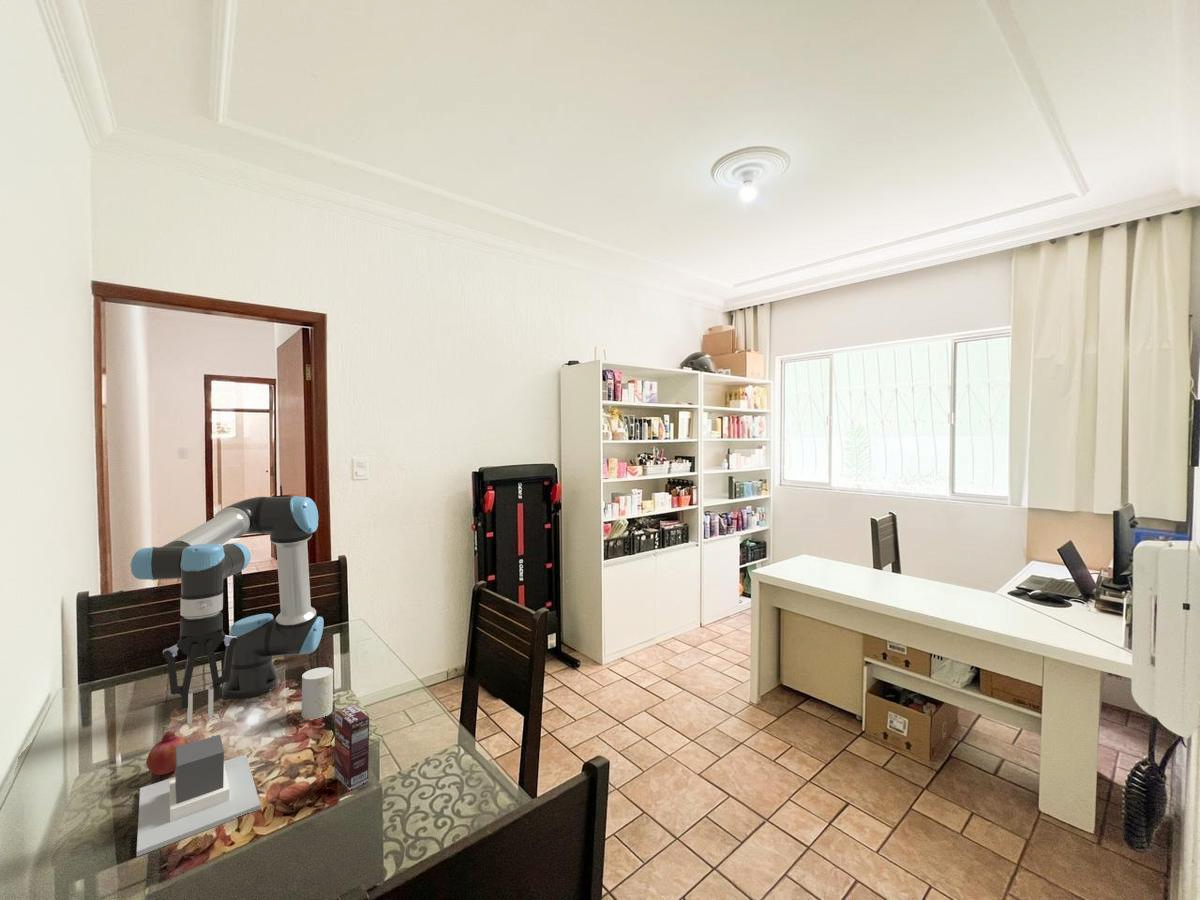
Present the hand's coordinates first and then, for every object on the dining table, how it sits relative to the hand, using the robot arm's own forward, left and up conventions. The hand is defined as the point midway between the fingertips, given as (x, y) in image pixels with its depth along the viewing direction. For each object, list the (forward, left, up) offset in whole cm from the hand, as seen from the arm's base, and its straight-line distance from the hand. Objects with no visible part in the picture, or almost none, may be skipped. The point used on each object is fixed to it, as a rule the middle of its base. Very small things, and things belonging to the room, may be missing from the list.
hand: (200, 718), depth 113 cm
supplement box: (+14, +28, -19) cm, 36 cm away
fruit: (-17, -5, -19) cm, 26 cm away
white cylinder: (-25, +29, -19) cm, 43 cm away
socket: (0, 0, -19) cm, 19 cm away
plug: (0, 0, -17) cm, 17 cm away
